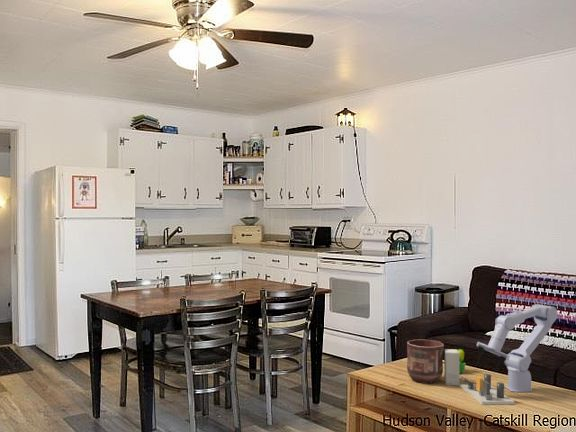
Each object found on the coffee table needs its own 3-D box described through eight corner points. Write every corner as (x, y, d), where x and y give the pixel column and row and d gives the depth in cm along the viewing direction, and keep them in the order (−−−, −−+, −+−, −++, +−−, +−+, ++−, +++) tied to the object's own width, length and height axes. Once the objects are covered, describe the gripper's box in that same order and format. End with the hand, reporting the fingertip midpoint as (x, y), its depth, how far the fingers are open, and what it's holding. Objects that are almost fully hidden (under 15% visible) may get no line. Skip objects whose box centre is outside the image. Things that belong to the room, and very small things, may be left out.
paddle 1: (473, 384, 249) (461, 375, 249) (476, 386, 245) (465, 378, 245) (471, 386, 249) (460, 378, 249) (475, 389, 245) (463, 381, 245)
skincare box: (459, 386, 253) (460, 353, 253) (445, 385, 254) (445, 352, 255) (457, 381, 261) (458, 349, 261) (443, 380, 263) (444, 348, 263)
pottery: (445, 386, 253) (446, 347, 253) (407, 383, 256) (407, 345, 256) (441, 376, 270) (441, 340, 271) (405, 374, 273) (406, 338, 274)
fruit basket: (443, 368, 285) (443, 346, 285) (459, 367, 286) (459, 346, 286) (451, 374, 273) (452, 352, 273) (468, 374, 274) (468, 351, 274)
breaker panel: (489, 386, 253) (489, 371, 253) (514, 404, 229) (514, 387, 229) (460, 387, 252) (460, 371, 252) (482, 404, 228) (482, 387, 228)
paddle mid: (479, 390, 242) (479, 375, 243) (483, 393, 238) (483, 378, 238) (476, 390, 242) (476, 375, 242) (479, 393, 238) (480, 378, 238)
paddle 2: (485, 395, 235) (485, 380, 236) (489, 398, 231) (490, 383, 231) (482, 395, 235) (482, 380, 235) (486, 398, 231) (486, 383, 231)
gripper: (481, 331, 245) (469, 358, 242) (513, 345, 238) (502, 374, 235) (481, 334, 251) (470, 361, 248) (513, 348, 244) (501, 376, 241)
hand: (485, 367), depth 242 cm, fingers open, 7 cm apart
